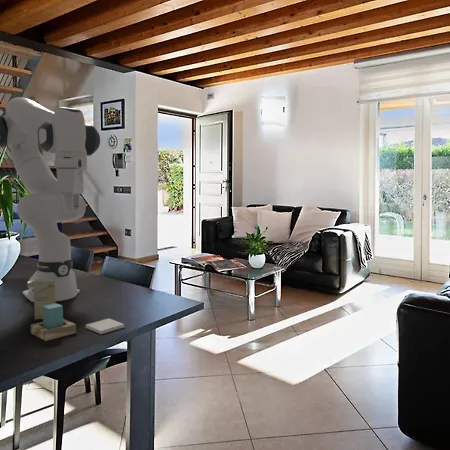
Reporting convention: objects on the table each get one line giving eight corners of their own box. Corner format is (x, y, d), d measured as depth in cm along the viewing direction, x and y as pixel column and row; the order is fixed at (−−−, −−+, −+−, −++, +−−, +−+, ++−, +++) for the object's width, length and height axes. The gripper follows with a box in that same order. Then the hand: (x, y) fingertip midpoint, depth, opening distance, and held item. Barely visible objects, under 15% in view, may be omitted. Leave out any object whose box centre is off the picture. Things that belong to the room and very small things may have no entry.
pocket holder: (30, 333, 124) (30, 324, 124) (60, 325, 131) (60, 317, 131) (45, 341, 118) (45, 332, 118) (76, 332, 125) (75, 324, 125)
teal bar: (43, 333, 124) (42, 306, 124) (56, 329, 127) (55, 303, 127) (50, 336, 122) (49, 308, 121) (63, 332, 125) (62, 305, 124)
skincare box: (34, 320, 136) (32, 282, 135) (35, 315, 140) (34, 279, 139) (55, 318, 138) (54, 280, 137) (56, 314, 142) (55, 277, 141)
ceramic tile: (85, 327, 129) (85, 324, 129) (108, 321, 135) (108, 318, 135) (100, 334, 124) (100, 330, 124) (124, 327, 130) (124, 324, 129)
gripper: (66, 164, 137) (68, 208, 139) (52, 160, 117) (54, 211, 119) (87, 164, 139) (89, 207, 140) (76, 161, 118) (78, 211, 120)
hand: (73, 209), depth 129 cm, fingers open, 8 cm apart
